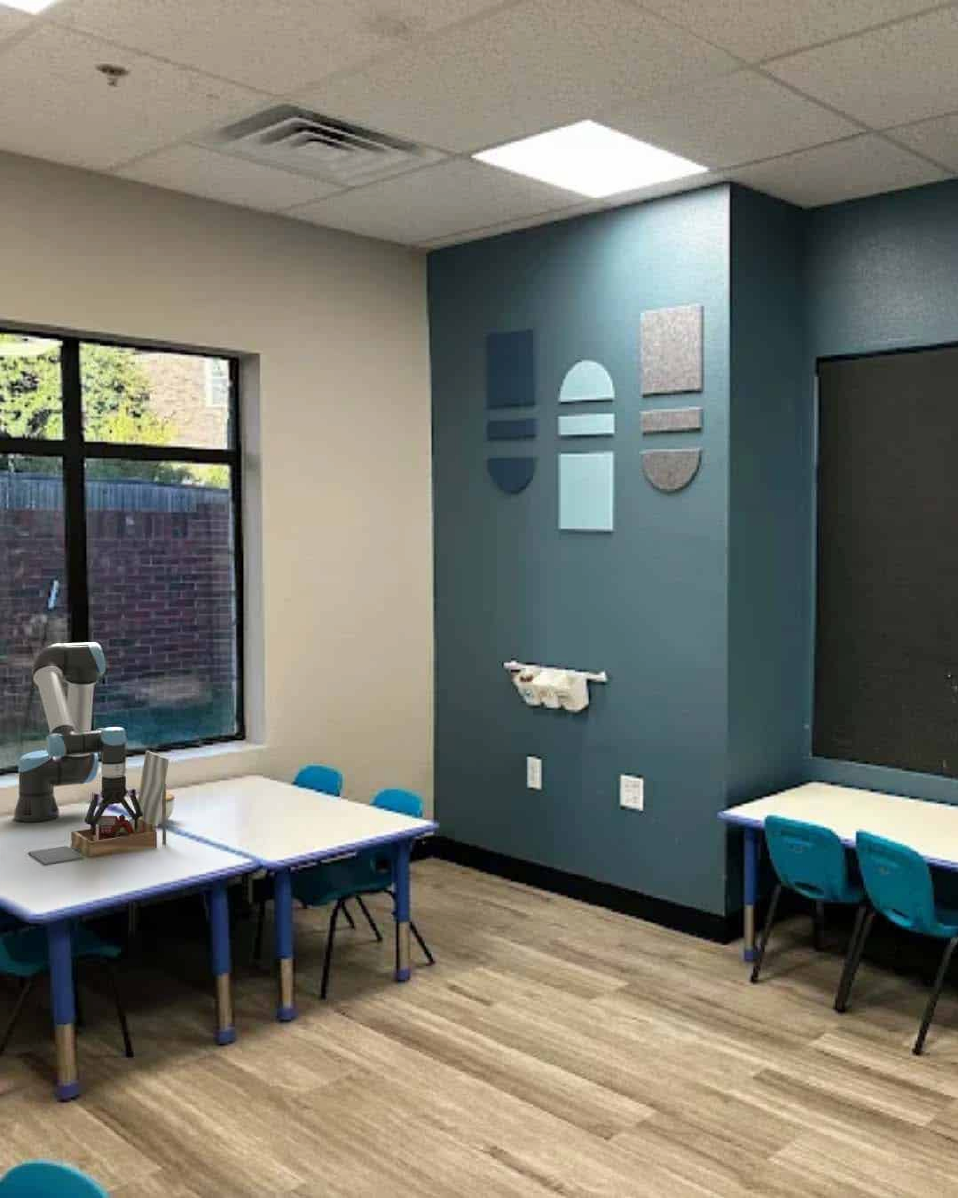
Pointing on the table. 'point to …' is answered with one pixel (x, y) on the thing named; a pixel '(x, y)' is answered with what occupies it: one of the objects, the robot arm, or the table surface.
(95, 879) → the table surface
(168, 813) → the lidded bowl
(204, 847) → the table surface
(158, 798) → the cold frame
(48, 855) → the mat
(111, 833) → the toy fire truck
